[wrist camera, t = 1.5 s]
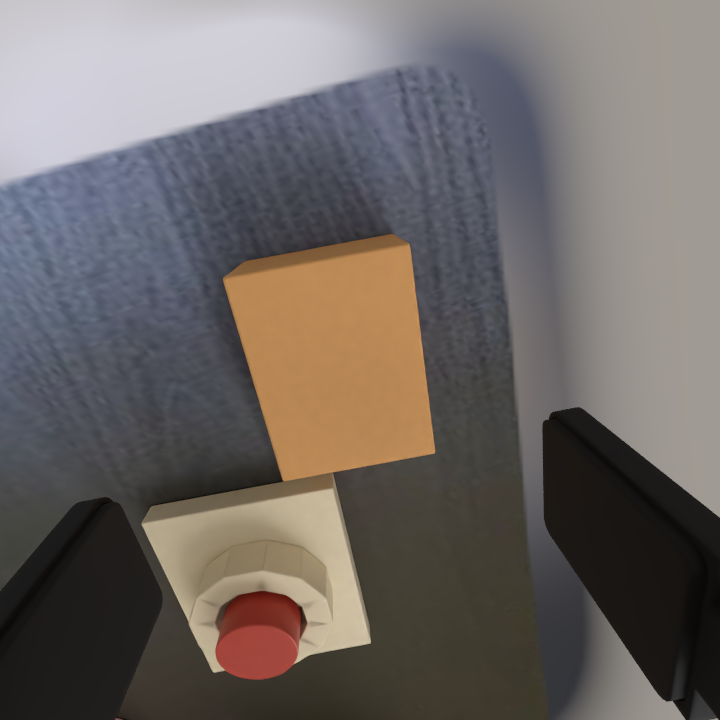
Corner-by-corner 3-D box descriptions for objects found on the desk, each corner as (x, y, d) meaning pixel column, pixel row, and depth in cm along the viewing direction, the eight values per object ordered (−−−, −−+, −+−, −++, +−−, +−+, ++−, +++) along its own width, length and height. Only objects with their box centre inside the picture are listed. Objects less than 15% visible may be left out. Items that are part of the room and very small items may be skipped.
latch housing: (150, 505, 20) (122, 555, 17) (332, 471, 20) (333, 516, 17) (218, 651, 24) (204, 710, 21) (369, 623, 24) (374, 678, 21)
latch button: (214, 597, 19) (203, 634, 17) (291, 582, 19) (287, 618, 17) (236, 647, 20) (228, 686, 19) (307, 634, 20) (306, 671, 19)
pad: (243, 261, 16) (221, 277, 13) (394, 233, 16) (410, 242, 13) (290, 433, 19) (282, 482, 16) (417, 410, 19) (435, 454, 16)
